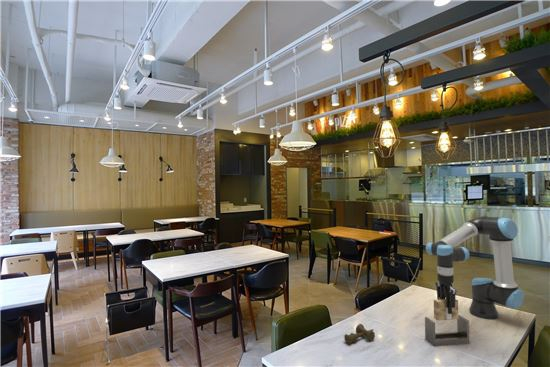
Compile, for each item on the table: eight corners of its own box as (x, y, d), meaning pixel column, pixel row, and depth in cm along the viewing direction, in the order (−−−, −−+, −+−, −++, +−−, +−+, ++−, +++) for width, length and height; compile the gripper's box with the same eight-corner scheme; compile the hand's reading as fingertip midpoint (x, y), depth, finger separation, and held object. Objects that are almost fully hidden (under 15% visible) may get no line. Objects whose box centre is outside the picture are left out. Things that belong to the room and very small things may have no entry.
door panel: (454, 316, 158) (453, 298, 158) (458, 319, 155) (458, 300, 155) (433, 318, 157) (433, 299, 157) (437, 320, 153) (437, 301, 154)
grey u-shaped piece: (459, 336, 160) (459, 314, 160) (469, 343, 153) (468, 320, 153) (425, 339, 158) (424, 317, 158) (433, 346, 151) (433, 323, 151)
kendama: (340, 341, 159) (367, 330, 168) (353, 350, 150) (380, 338, 160) (340, 330, 159) (367, 320, 168) (353, 338, 150) (380, 328, 160)
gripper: (429, 270, 164) (430, 311, 163) (449, 279, 148) (450, 325, 147) (441, 269, 165) (442, 310, 164) (463, 278, 148) (464, 324, 148)
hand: (446, 317), depth 156 cm, fingers closed on door panel, 3 cm apart
